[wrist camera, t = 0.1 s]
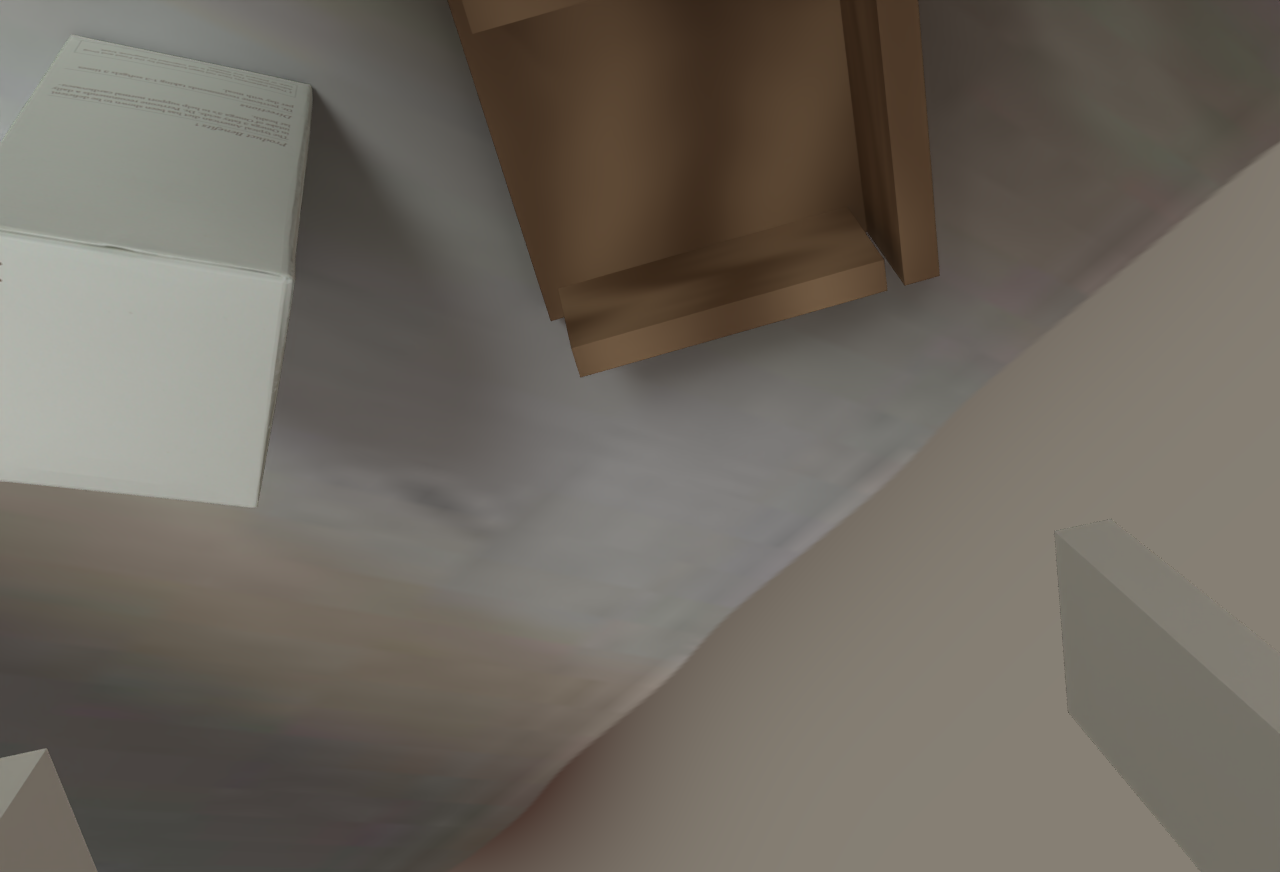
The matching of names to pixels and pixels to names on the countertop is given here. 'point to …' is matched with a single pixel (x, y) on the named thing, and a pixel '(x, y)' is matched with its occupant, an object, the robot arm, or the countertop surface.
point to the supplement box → (147, 273)
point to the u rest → (705, 159)
